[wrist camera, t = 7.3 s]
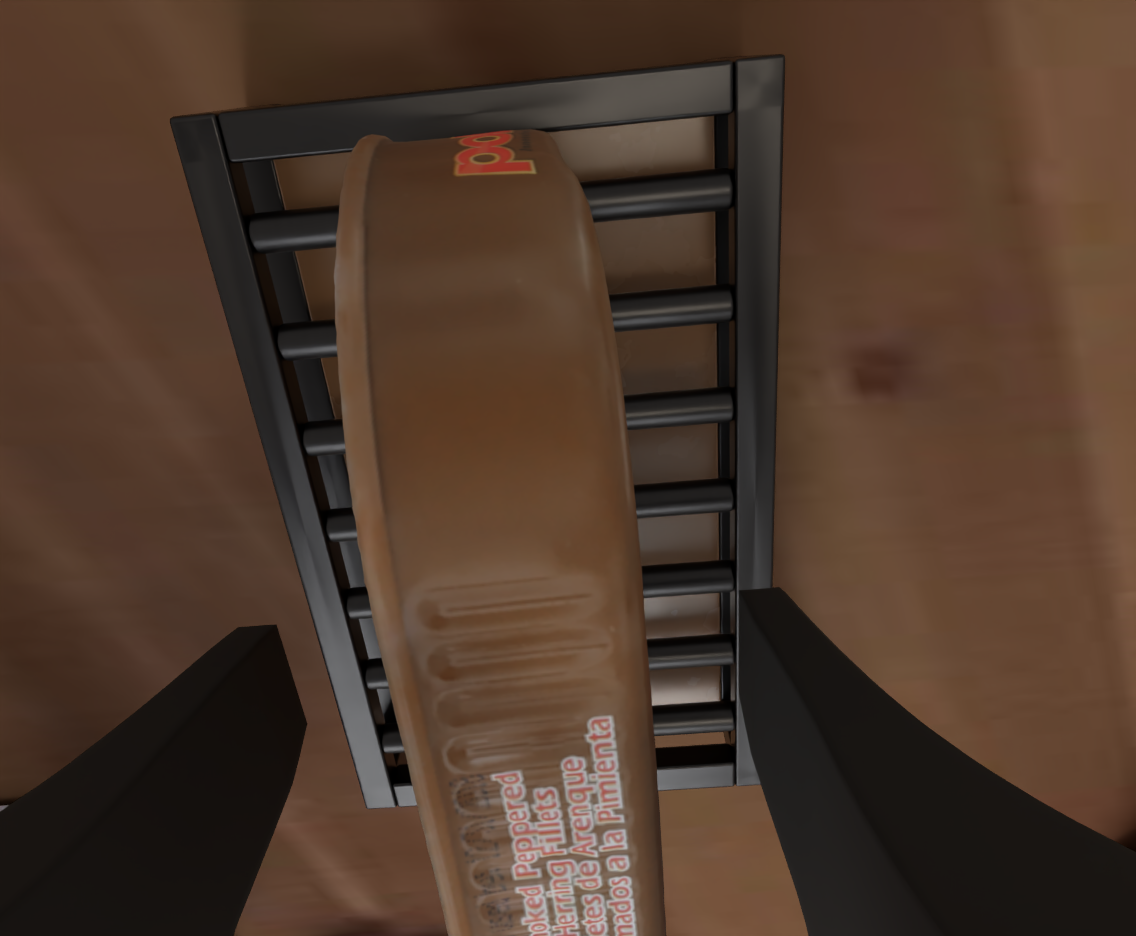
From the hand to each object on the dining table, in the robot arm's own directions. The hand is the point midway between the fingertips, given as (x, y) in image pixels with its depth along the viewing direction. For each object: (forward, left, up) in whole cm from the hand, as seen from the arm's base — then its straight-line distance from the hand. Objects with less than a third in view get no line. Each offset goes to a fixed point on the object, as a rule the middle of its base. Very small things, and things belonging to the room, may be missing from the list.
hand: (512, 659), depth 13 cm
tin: (0, 0, -4) cm, 5 cm away
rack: (0, 0, -8) cm, 8 cm away
